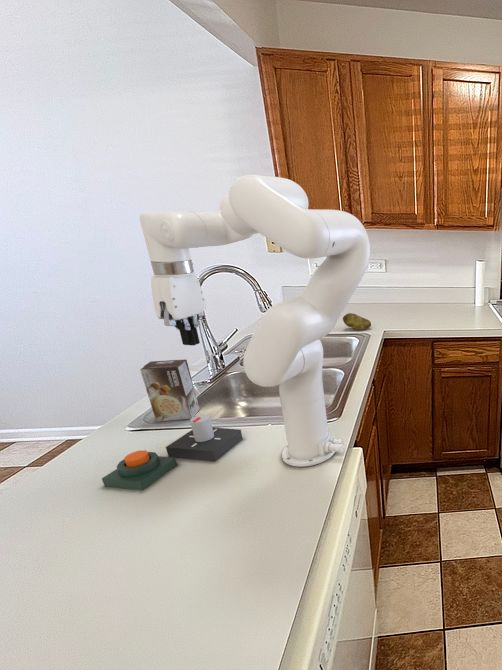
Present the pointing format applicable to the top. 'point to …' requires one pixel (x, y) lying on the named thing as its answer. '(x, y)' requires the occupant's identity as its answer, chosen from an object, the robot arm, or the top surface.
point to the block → (139, 473)
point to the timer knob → (202, 428)
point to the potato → (356, 321)
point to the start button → (136, 458)
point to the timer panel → (205, 445)
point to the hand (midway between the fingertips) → (191, 344)
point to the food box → (170, 390)
